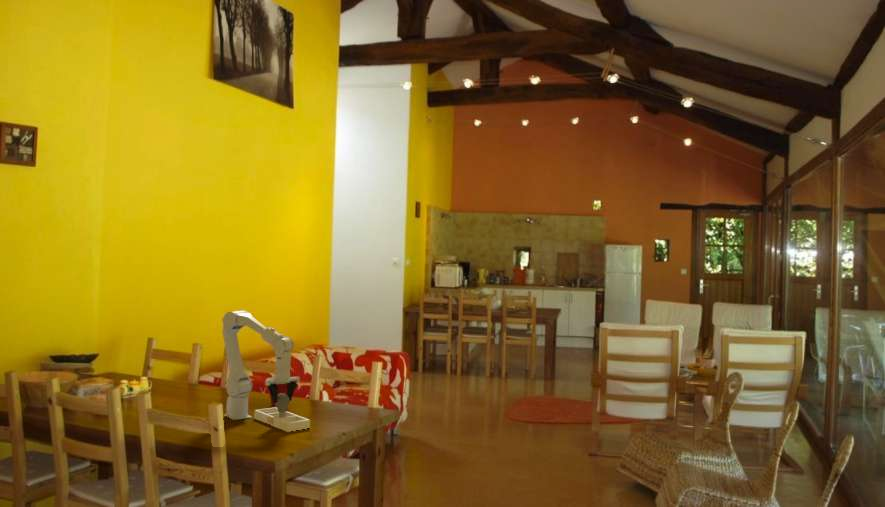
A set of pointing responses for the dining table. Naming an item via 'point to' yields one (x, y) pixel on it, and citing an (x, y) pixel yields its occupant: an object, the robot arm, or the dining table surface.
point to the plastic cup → (281, 389)
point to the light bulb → (282, 404)
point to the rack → (282, 419)
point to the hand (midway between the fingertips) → (281, 401)
